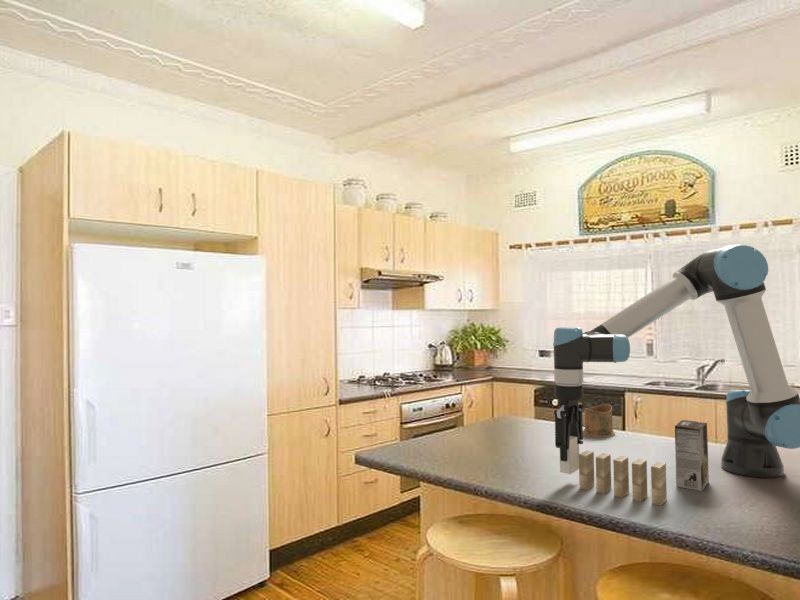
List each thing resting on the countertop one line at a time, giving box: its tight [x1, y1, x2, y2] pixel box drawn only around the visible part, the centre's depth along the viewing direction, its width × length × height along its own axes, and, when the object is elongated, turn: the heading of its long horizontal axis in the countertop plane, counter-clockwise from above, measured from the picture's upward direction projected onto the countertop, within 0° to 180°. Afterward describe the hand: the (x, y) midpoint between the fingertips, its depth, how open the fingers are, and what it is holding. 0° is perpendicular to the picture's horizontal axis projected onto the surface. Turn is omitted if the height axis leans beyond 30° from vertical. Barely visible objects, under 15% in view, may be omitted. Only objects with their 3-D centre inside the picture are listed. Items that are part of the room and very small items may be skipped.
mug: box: [578, 402, 616, 438], centre depth 204 cm, size 12×18×12 cm, turn 107°
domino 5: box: [631, 458, 648, 502], centre depth 136 cm, size 2×5×9 cm, turn 139°
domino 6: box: [650, 461, 668, 507], centre depth 133 cm, size 2×5×9 cm, turn 139°
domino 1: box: [565, 436, 579, 475], centre depth 148 cm, size 2×5×9 cm, turn 139°
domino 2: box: [578, 450, 595, 491], centre depth 145 cm, size 2×5×9 cm, turn 139°
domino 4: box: [612, 455, 630, 498], centre depth 139 cm, size 2×5×9 cm, turn 139°
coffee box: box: [674, 419, 710, 492], centre depth 146 cm, size 9×6×16 cm
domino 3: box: [595, 452, 612, 495], centre depth 142 cm, size 2×5×9 cm, turn 139°
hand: (569, 470), depth 148 cm, fingers closed on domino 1, 5 cm apart
